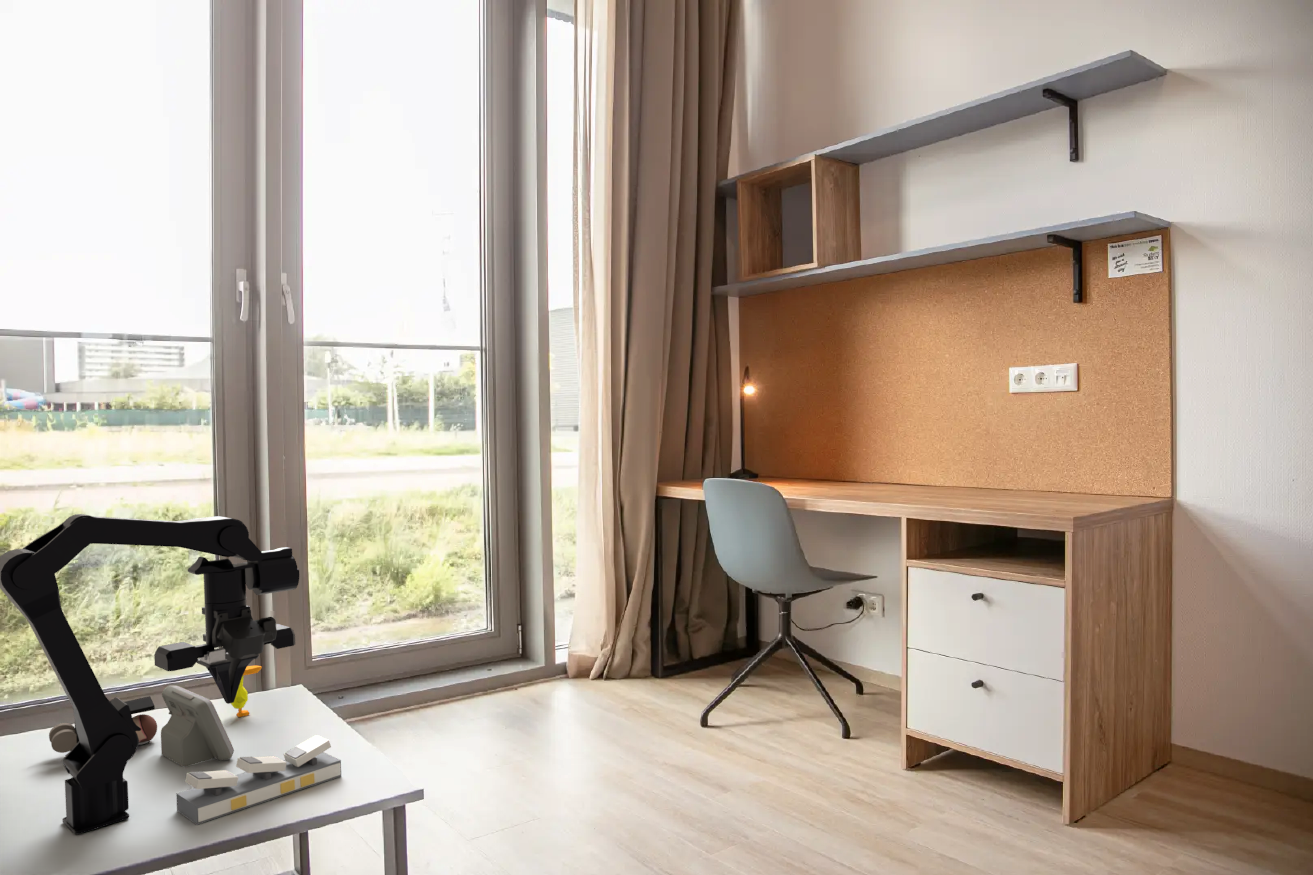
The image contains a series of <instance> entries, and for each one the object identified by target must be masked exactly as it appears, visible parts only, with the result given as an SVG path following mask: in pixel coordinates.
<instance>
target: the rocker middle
mask: <svg viewBox="0 0 1313 875" xmlns="http://www.w3.org/2000/svg"><path fill="white" fill-rule="evenodd" d="M283 760H284V759H281V758H279V757H277V756H273V755H271V756H270V755H269V756H240V757H237V759H236V765H235V767H236V768H238V769H240V770H242V771H243V772H247V773H258V772H274V771H285V768H286V763H287V762H285V761H283Z"/></svg>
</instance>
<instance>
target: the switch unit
mask: <svg viewBox="0 0 1313 875" xmlns="http://www.w3.org/2000/svg"><path fill="white" fill-rule="evenodd" d="M282 760H283V761H285V759H282ZM285 762H287V761H285ZM235 775H236V776H237V777H238V781H237V786H229V787H217V788H205V789H195V788H194V787H192V788H189V789H185V790H183V791H182V790H181V791H178V792H176V794H175V795H176V796H175V797H176V812H178V813H179V814H181V815H182V816H184V817H185V818H187V819H188V820H190V822H192V823H194V824H195V825H200V824H203V823H206V822H209V821H212V820H215V819H218V818H222V817H224V816H227V815H230V814H233V813H236V812H239V811H242V810H246V809H248V808H252V807H254V806H257V805H260V804H263V803H266V802H269V801H272V800H274V799H277V798H280V797H283V796H284V797H285V796H287V795H290V794H293V793H296V792H298V791H299V792H300V791H301V790H305V789H308V788H312V787H314V786H317V785H319V784H320V785H321V784H323V783H325V782H329V781H331V780H334V779H335V780H336V779H338V778H340V777H342V760H341V759H339V758H338V757H335V756H332V755H330V754H328V753H327V752H325V751H324V752H322V753H321V754H319V755H317V756H316V757H314V758H312V759H311V760H309V761H307V762H306V763H304V764H302V765H301V766H299V767H297V766H295V765H293V764H291V763H289V762H287V763H286V768H285V771H274V772H258V773H247V772H245V771H243V772H241V773H238V774H235Z"/></svg>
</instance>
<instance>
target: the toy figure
mask: <svg viewBox="0 0 1313 875" xmlns="http://www.w3.org/2000/svg"><path fill="white" fill-rule="evenodd" d="M262 667H263V666H261V665H248V666H247V667H246V669H245V672H244V674H243V676H242V679H241V682H240V685H239V688H238V691H237V694H236V697H235V700H234V702H233V703H230V705H231V706H232V707H233V708H234V709H235V710H238V712H237V713H236V716H237V718H241V717H246V716H250V712H249V710H247V709H243V708H244V707H245V705H246V704H247V702H248V700H249V697H248V696H249V693H248V692H249V691H248V690H247V689H246V688H245V686H244V679H245V678H244V677H245V676H249V675H253V674H258V673H259V671H261V670H262Z"/></svg>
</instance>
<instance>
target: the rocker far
mask: <svg viewBox="0 0 1313 875" xmlns="http://www.w3.org/2000/svg"><path fill="white" fill-rule="evenodd" d="M331 748H332V745H331V742H330V739H327V738H325V737H322V736H321V735H318V734H315V735H313V736H311V737H310V738H308V739H307V740H304V741H303V742H301V743H300V744H299V743H298V744H297V745H295V746H294V747H292V748H290V749H289V750H287V751H286V752H284V753H283V757H284V760H285V761H287V762H289V763H291V764H293V765H295V766H297V767H299V766H301V765H302V764H304V763H306V762H307V761H309V760H311V759H312V758H314V757H316V756H317V755H319V754H321V753H322V752H324V753H325V751H327V750H329V749H331Z"/></svg>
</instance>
